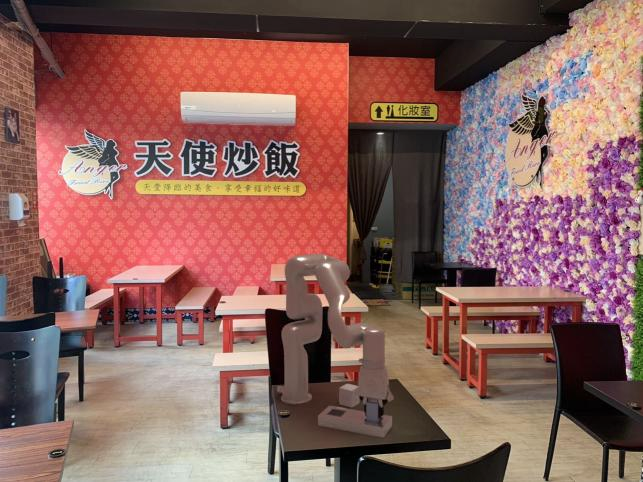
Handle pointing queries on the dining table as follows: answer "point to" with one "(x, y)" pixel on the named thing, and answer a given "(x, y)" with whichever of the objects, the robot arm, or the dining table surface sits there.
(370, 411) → the plug
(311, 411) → the dining table surface
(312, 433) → the dining table surface
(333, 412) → the panel
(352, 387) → the product box
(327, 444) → the dining table surface
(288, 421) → the dining table surface
